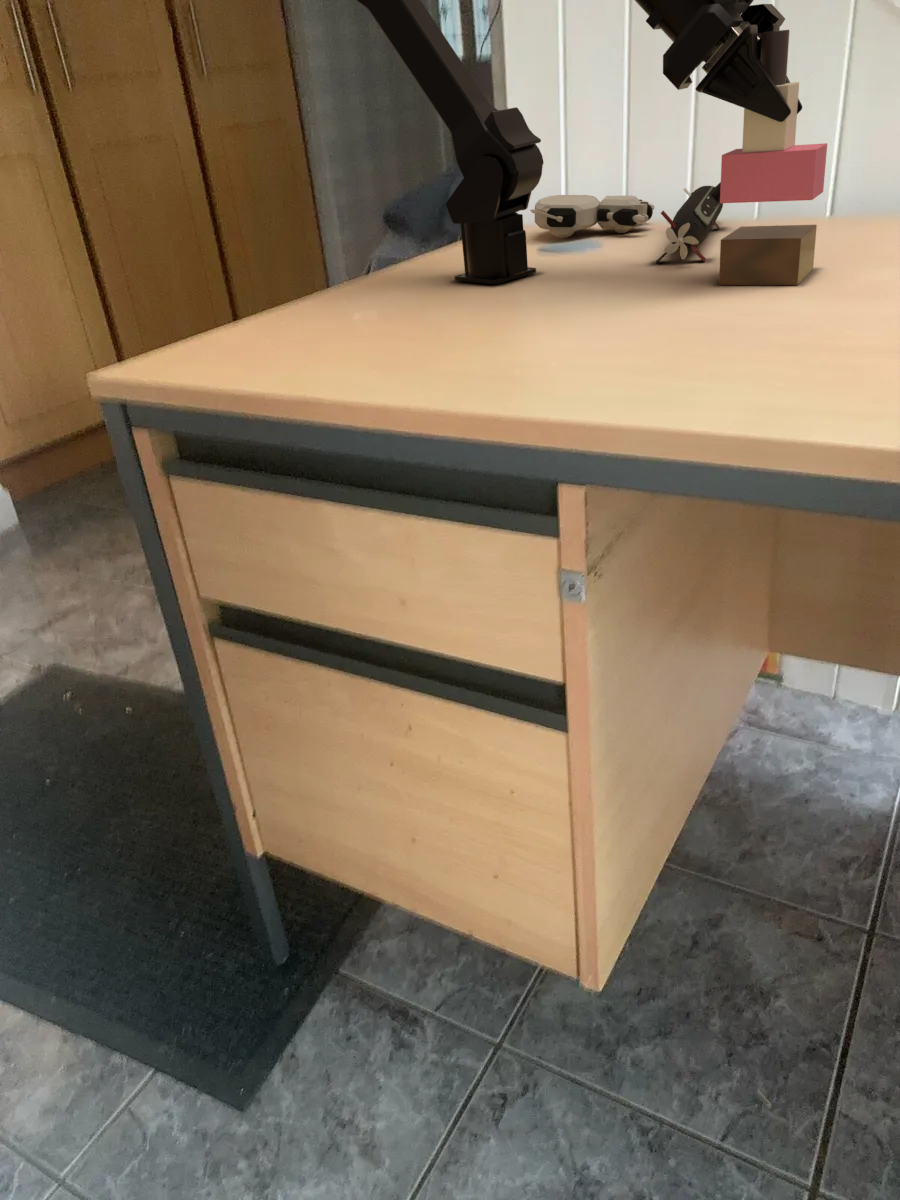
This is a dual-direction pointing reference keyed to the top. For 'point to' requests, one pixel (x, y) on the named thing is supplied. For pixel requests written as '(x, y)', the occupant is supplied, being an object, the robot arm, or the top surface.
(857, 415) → the top surface
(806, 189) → the pink and tan tower
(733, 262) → the block
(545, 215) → the robot toy
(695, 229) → the submarine model
